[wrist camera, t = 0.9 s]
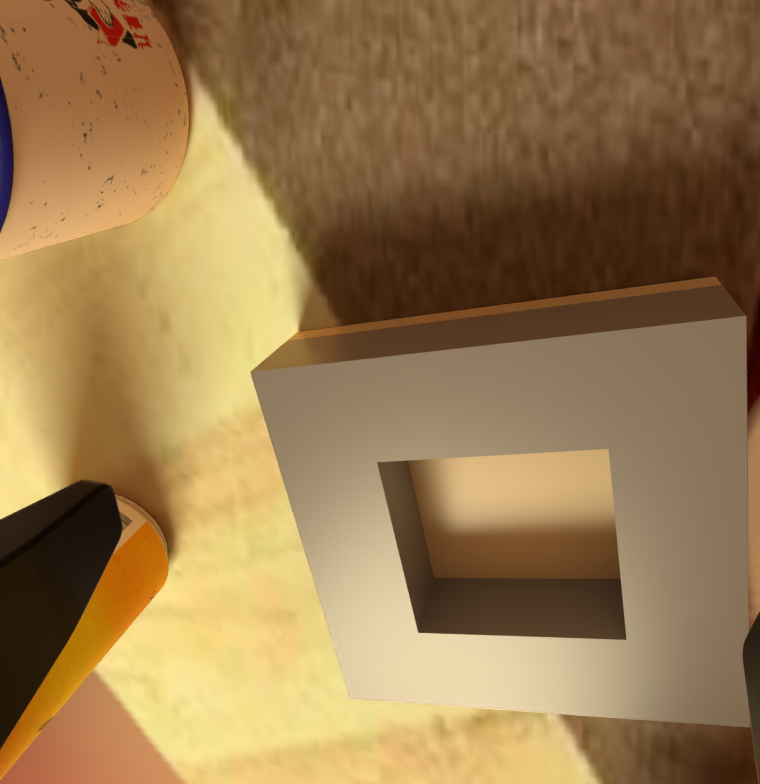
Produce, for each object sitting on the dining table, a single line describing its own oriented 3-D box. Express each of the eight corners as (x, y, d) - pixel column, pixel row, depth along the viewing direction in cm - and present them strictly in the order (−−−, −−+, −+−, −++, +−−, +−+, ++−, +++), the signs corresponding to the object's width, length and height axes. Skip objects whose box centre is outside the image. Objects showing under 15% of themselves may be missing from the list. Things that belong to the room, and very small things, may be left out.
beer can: (64, 559, 33) (-275, 867, 20) (68, 464, 30) (-325, 751, 17) (170, 605, 32) (-109, 958, 19) (185, 513, 29) (-132, 852, 16)
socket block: (724, 636, 24) (749, 727, 21) (376, 626, 29) (349, 699, 25) (715, 276, 19) (746, 315, 16) (297, 331, 24) (250, 372, 20)
